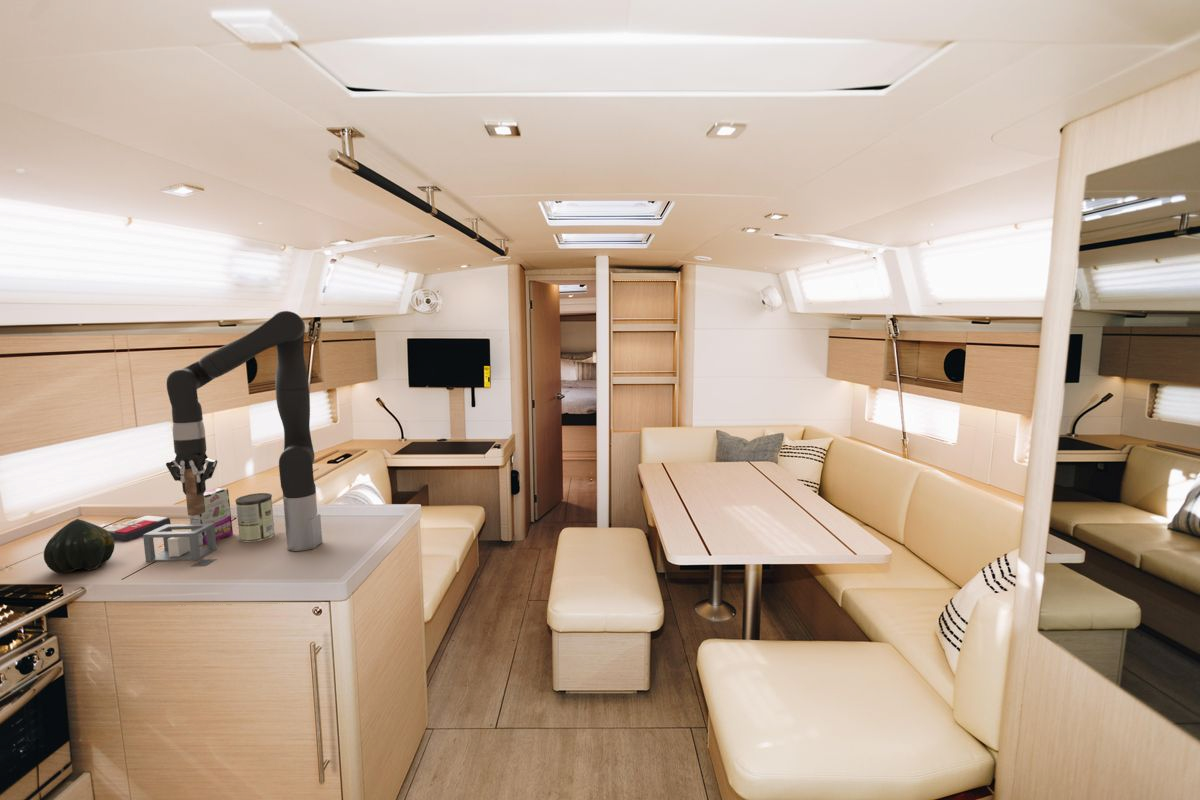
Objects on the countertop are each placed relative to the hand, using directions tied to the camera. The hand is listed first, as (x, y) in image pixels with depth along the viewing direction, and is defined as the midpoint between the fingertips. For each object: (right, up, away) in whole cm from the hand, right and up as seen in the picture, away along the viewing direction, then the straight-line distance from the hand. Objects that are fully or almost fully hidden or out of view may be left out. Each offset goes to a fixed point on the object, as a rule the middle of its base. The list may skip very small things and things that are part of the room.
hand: (194, 493), depth 160 cm
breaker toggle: (-10, -20, +7) cm, 23 cm away
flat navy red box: (-42, -19, +29) cm, 54 cm away
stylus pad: (+2, -21, +1) cm, 21 cm away
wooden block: (0, -6, +1) cm, 6 cm away
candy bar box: (-10, -19, +21) cm, 30 cm away
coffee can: (+4, -19, +23) cm, 30 cm away
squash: (-33, -22, -1) cm, 40 cm away
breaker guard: (-9, -21, +7) cm, 24 cm away
